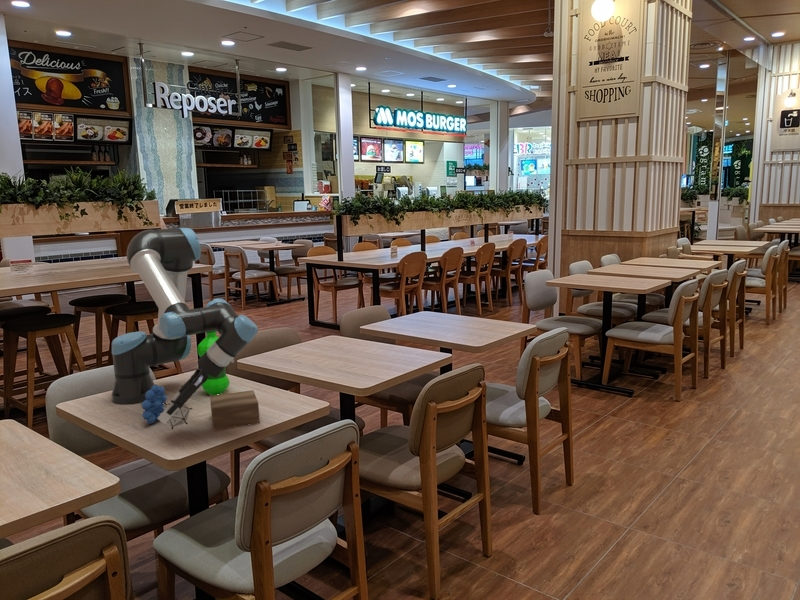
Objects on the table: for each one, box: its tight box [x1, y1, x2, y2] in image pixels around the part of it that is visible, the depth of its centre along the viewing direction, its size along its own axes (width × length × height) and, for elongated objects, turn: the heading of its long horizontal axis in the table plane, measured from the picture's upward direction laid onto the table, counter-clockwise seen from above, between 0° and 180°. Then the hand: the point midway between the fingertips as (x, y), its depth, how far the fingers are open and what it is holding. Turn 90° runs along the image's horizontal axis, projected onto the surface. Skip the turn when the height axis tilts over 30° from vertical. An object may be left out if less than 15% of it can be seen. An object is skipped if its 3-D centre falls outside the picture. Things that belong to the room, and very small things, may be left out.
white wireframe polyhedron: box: [163, 402, 193, 430], centre depth 183 cm, size 9×8×10 cm
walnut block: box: [209, 389, 261, 431], centre depth 197 cm, size 14×14×7 cm
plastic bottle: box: [197, 330, 230, 396], centre depth 223 cm, size 10×10×25 cm
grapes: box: [141, 384, 168, 425], centre depth 197 cm, size 12×7×12 cm, turn 167°
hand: (164, 415), depth 183 cm, fingers closed on white wireframe polyhedron, 8 cm apart
